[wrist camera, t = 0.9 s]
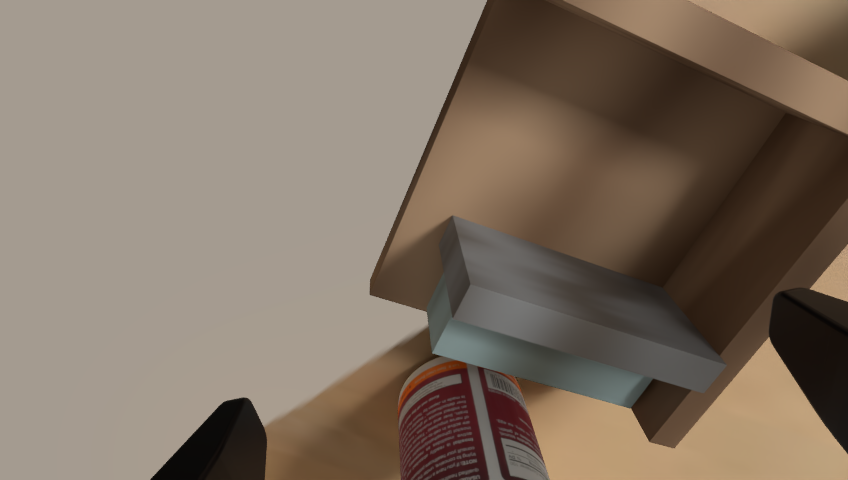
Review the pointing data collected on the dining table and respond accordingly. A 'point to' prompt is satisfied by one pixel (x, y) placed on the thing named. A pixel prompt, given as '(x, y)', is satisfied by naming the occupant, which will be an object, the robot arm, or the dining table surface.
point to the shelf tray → (620, 201)
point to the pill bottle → (465, 425)
